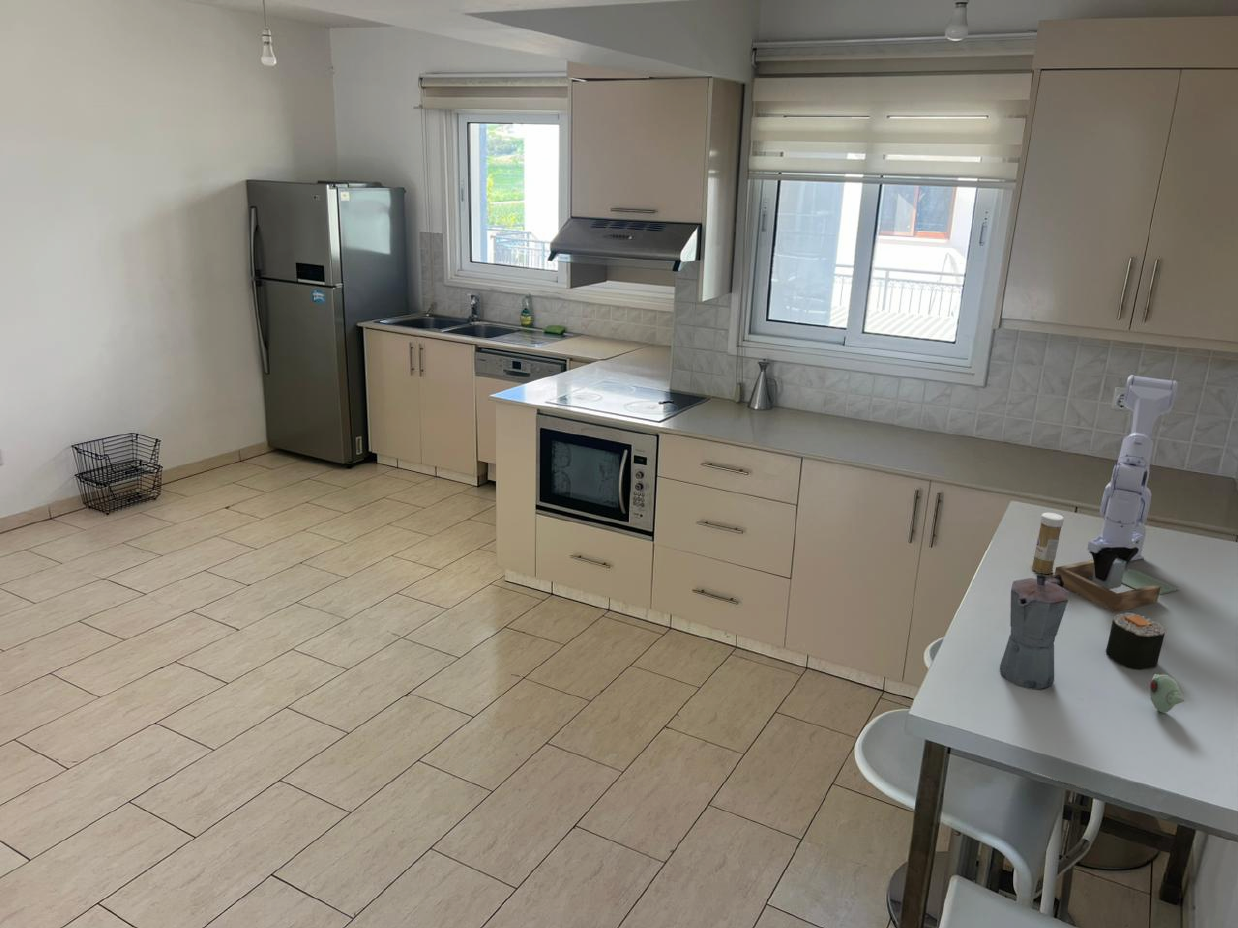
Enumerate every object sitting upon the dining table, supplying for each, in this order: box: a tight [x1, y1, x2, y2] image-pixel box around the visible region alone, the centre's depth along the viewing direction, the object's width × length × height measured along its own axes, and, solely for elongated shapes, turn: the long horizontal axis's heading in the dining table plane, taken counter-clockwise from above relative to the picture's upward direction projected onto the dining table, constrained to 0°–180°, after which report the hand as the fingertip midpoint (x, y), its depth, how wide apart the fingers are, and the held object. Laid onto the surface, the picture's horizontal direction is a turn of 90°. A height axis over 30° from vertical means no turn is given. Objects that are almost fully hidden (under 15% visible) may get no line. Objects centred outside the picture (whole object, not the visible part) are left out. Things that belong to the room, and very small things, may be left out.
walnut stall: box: [1053, 559, 1161, 613], centre depth 196 cm, size 13×15×4 cm
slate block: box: [1091, 558, 1127, 590], centre depth 195 cm, size 4×4×6 cm
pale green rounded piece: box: [1149, 673, 1186, 714], centre depth 151 cm, size 8×4×7 cm, turn 175°
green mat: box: [1121, 568, 1179, 595], centre depth 202 cm, size 9×11×1 cm
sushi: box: [1105, 612, 1167, 670], centre depth 168 cm, size 8×8×8 cm
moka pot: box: [999, 574, 1069, 690], centre depth 159 cm, size 10×15×20 cm, turn 135°
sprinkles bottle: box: [1031, 512, 1065, 575], centre depth 204 cm, size 5×5×13 cm
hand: (1107, 577), depth 196 cm, fingers closed on slate block, 4 cm apart
